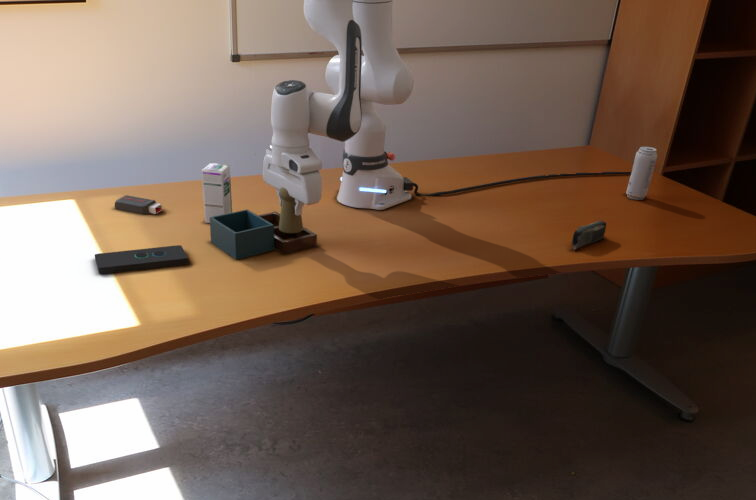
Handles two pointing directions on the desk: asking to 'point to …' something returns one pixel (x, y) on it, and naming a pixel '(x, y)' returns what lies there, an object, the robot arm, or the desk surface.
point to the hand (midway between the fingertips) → (290, 210)
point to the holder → (291, 245)
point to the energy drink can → (641, 173)
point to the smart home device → (140, 259)
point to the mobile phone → (588, 234)
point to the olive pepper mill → (289, 214)
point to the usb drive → (138, 205)
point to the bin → (242, 234)
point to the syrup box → (216, 190)
